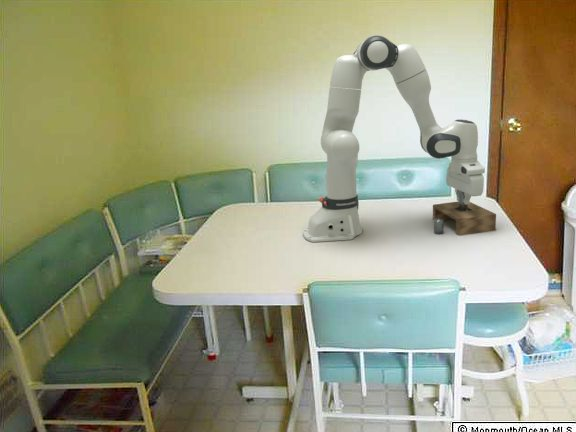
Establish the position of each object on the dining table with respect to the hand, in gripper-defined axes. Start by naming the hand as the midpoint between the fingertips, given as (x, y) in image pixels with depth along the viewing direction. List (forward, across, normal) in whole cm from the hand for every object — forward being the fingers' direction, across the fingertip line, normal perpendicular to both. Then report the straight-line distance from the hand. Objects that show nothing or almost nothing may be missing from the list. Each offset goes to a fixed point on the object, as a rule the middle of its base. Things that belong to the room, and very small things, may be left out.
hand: (462, 202), depth 178 cm
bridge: (+9, 0, 0) cm, 9 cm away
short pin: (+9, +5, -12) cm, 16 cm away
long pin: (+7, 0, 0) cm, 7 cm away
